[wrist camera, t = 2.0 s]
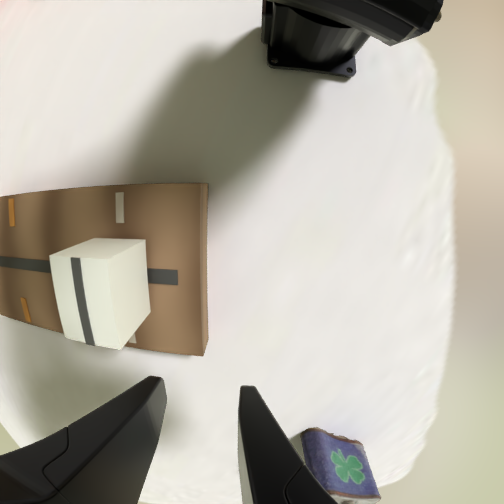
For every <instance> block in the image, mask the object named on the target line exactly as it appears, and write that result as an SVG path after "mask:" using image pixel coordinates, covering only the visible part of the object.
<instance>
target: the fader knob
mask: <svg viewBox="0 0 504 504" xmlns="http://www.w3.org/2000/svg"><path fill="white" fill-rule="evenodd" d="M49 257H50V265H51V272H52V278H53V284H54V290H55V296H56V301H57V306H58V310H59V315H60V319H61V323H62V327H63V331H64V335H65V338H67V339H71V340H75V341H80V342H84V343H86V344H88V345H93V346H95V345H97V346H102V347H107V348H112V349H117V350H121V349H122V348H123V347H124V345H125V344H126V343H127V341H128V340H129V339H130V338H131V336H132V335H133V334H134V332H135V331H136V330H137V329H138V327H139V326H140V325H141V324H142V322H143V321H144V320H145V318H146V317H147V316H148V315H149V313H150V312H151V311H150V301H149V290H148V277H147V262H146V241H145V240H144V239H111V238H93V239H90V240H88V241H85V242H82V243H80V244H77V245H75V246H72V247H69V248H67V249H64V250H62V251H59V252H57V253H54V254H52V255H49Z"/></svg>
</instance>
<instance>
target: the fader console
mask: <svg viewBox="0 0 504 504" xmlns="http://www.w3.org/2000/svg"><path fill="white" fill-rule="evenodd" d="M207 201H208V184H207V183H157V184H128V185H109V186H93V187H80V188H69V189H58V190H49V191H40V192H31V193H24V194H16V195H9V196H3V197H0V314H1V315H3V316H6V317H9V318H12V319H15V320H18V321H22V322H25V323H28V324H31V325H35V326H38V327H42V328H45V329H49V330H53V331H57V332H60V333H64V331H63V327H62V323H61V319H60V315H59V310H58V306H57V301H56V296H55V290H54V284H53V278H52V272H51V265H50V257H49V255H52V254H54V253H57V252H59V251H62V250H64V249H67V248H69V247H72V246H75V245H77V244H80V243H82V242H85V241H88V240H90V239H93V238H111V239H144V240H145V241H146V262H147V277H148V290H149V301H150V311H151V312H150V313H149V315H148V316H147V317H146V318H145V320H144V321H143V322H142V324H141V325H140V326H139V327H138V329H137V330H136V331H135V332H134V334H133V335H132V336H131V338H130V339H129V340H128V341H127V343H126V344H125V345H124V346H127V347H133V348H139V349H146V350H152V351H160V352H167V353H176V354H184V355H194V356H203V355H204V352H205V349H206V345H207V342H208V310H207Z"/></svg>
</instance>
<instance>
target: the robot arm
mask: <svg viewBox="0 0 504 504" xmlns="http://www.w3.org/2000/svg"><path fill="white" fill-rule="evenodd" d="M442 5H443V0H263V3H262V33H261V42H263V43H264V44H268V49H267V64H268V66H269V67H271V68H277V69H290V70H301V71H309V72H317V73H324V74H331V75H337V76H343V77H350V78H351V77H353V76H354V75H355V74H356V64H355V55H356V53H357V52H358V51H359V50H360V48H361V47H362V46H363V45H364V43H365V42H366V41H367V40H368V38H369V37H370V36H372V37H374V38H376V39H379V40H381V41H382V42H383V43H385V44H387V45H389V46H392V45H395V44H397V43H400V42H404V41H406V40H409V39H411V38H414V37H417V36H420V35H422V34H423V33H426V32H428V31H429V30H430V29H431V27H432V25H433V23H434V22H438V21H439V20H440V18H441V12H440V10H441V7H442ZM272 60H276V61H277V63H272V62H271V61H272ZM346 69H349V70H350V71H351V73H349V72H347V70H346ZM166 404H167V395H166V390H165V385H164V380H163V378H161V377H156V376H148V377H147V378H145V379H144V380H142V381H140V382H139V383H137V384H136V385H134V386H133V387H131V388H130V389H128V390H126V391H125V392H123V393H122V394H120V395H118V396H117V397H115V398H114V399H112V400H110V401H109V402H107V403H105V404H104V405H102V406H101V407H99V408H97V409H96V410H94V411H92V412H91V413H89V414H87V415H86V416H84V417H82V418H80V419H79V420H77V421H75V422H74V423H72V424H70V425H69V426H68V427H65V428H63V429H61V430H59V431H58V432H56V433H54V434H52V435H50V436H48V437H46V438H44V439H42V440H40V441H37V442H35V443H33V444H30V445H28V446H25V447H23V448H20V449H17V450H15V451H12V452H9V453H6V454H4V455H0V504H137V503H138V500H139V497H140V494H141V491H142V488H143V485H144V482H145V479H146V476H147V473H148V470H149V468H150V465H151V462H152V459H153V456H154V453H155V450H156V447H157V444H158V441H159V436H160V431H161V427H162V422H163V417H164V413H165V408H166ZM238 463H239V473H240V483H241V492H242V501H243V504H339V503H338V502H336V501H335V500H334V499H333V497H332V496H331V495H330V494H329V493H328V492H327V491H326V490H325V489H324V488H323V487H322V486H321V484H320V483H319V482H318V481H317V479H316V478H315V477H314V475H313V474H312V473H311V471H310V470H309V468H308V467H307V466H306V465H304V462H303V460H302V459H301V457H300V456H299V454H298V453H297V451H296V450H295V448H294V447H293V445H292V444H291V442H290V441H289V439H288V438H287V436H286V435H285V433H284V432H283V430H282V429H281V427H280V426H279V424H278V422H277V421H276V419H275V418H274V416H273V415H272V413H271V411H270V410H269V408H268V407H267V405H266V403H265V402H264V400H263V399H262V397H261V395H260V394H259V392H258V390H257V389H256V387H255V386H245V385H242V386H241V388H240V397H239V407H238Z"/></svg>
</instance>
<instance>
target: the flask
mask: <svg viewBox="0 0 504 504" xmlns="http://www.w3.org/2000/svg"><path fill="white" fill-rule="evenodd" d="M333 434H334V433H327V432H326V431H324V430H322V429H320V428H318V427H316V428H308V429H306V430H305V431H303V432H302V433H301V435H300V436H301V441H302V445H303V451H304V458H305V462H306V466H307V467H308V468H309V470H310V471H311V473H312V474H313V475H314V477H315V478H316V479H317V481H318V482H319V483H320V484H321V486H322V487H323V488H324V489H325V490H326V491H327V492H328V493H329V494H330V495H331V496H332V497H333V499H334V500H335V501H336V502H338V503H339V504H375V503H377V502H378V501H380V499H381V497H380V494H379V492H378V489H377V486H376V482H375V480H374V478H373V475H372V471H371V469H370V466H369V463H368V459H367V456H366V452H365V451H364V446H363V444H361V443H360V442H359V441H357V440H354V441H353V440H350V439H348V438H346V437H344V436H334V435H333Z"/></svg>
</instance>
